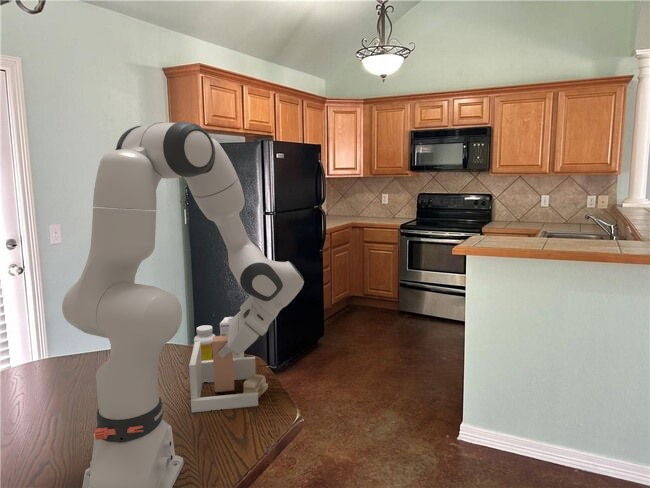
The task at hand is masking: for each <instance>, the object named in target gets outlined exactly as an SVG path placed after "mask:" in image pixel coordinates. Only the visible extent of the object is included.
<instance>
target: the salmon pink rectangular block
mask: <svg viewBox="0 0 650 488" xmlns="http://www.w3.org/2000/svg"><path fill="white" fill-rule="evenodd" d="M227 343H228V335H225V336H221V335H215V336H213V340H212V346H213V365H214V382H213V383H214V385H213V386H214V392H215V393H219V392H220V393H221V392H230V391H235V380H234V368H233V352H232V351H231V352H229V353H228V354H226V356H225V357H223V358H222V357H220V356H219V355H218V352H219V350H220V349H221V348H222V347H224V346H225V345H226V344H227Z"/></svg>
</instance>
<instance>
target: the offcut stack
mask: <svg viewBox="0 0 650 488" xmlns="http://www.w3.org/2000/svg"><path fill="white" fill-rule="evenodd" d="M266 380H267V378H266V377H265V375H262V374H257V373H256V374H254V375H252V376H251V377H250V378H249V379H245V381H244V382H243V384H242V385H243V393H254V392H258V399H259V398H260V397H261V396H262V395H263V394H264V393H265V392H266V391H267V390H268V388H269V383H267V382H266Z"/></svg>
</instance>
